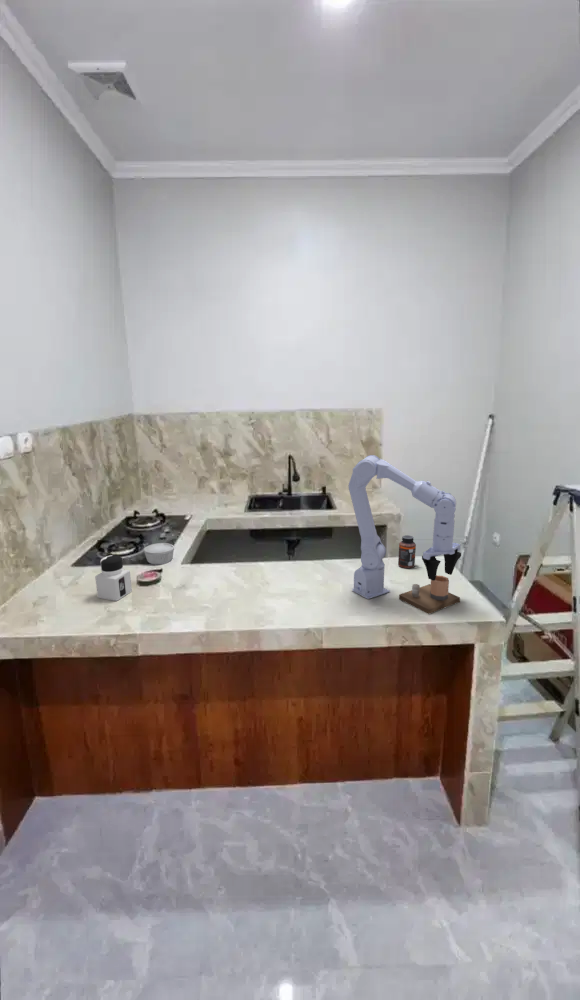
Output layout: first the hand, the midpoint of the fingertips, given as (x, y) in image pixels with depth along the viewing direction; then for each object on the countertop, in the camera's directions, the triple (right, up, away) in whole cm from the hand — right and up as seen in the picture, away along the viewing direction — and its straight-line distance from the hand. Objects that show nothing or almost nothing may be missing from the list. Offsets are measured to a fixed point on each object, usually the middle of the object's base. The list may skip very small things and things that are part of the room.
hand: (440, 576), depth 145 cm
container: (-103, -8, +10) cm, 104 cm away
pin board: (-3, -8, +3) cm, 9 cm away
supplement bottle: (-3, -1, +30) cm, 30 cm away
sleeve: (0, -7, +2) cm, 7 cm away
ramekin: (-97, 0, +39) cm, 104 cm away
